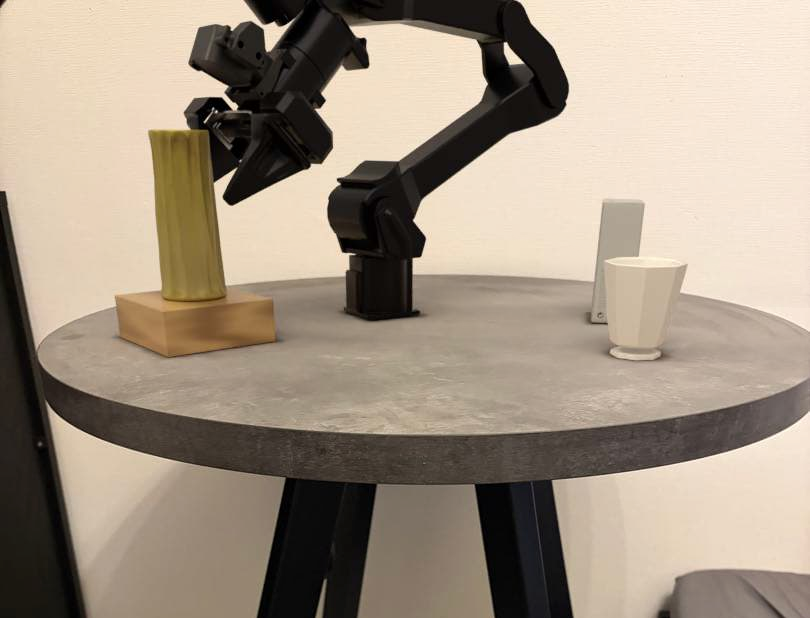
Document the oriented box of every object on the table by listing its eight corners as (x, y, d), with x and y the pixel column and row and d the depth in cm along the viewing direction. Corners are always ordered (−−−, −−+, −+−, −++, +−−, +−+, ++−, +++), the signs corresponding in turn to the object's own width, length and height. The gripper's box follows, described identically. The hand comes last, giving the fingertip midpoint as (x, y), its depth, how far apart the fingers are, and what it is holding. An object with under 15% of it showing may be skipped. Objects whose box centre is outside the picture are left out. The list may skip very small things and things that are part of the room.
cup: (594, 361, 76) (603, 265, 72) (596, 338, 84) (605, 251, 81) (677, 366, 74) (691, 268, 71) (671, 342, 83) (683, 253, 80)
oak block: (221, 323, 91) (218, 284, 89) (275, 341, 83) (273, 298, 81) (120, 337, 84) (114, 295, 83) (167, 357, 77) (162, 311, 75)
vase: (208, 289, 86) (193, 130, 80) (239, 297, 82) (226, 129, 76) (150, 295, 82) (130, 129, 76) (179, 304, 78) (161, 129, 72)
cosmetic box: (631, 325, 91) (645, 202, 85) (590, 323, 91) (601, 201, 86) (630, 314, 96) (642, 198, 91) (590, 313, 97) (601, 198, 92)
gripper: (192, 3, 82) (95, 131, 81) (296, -24, 69) (182, 130, 67) (270, 98, 90) (183, 217, 88) (377, 91, 77) (277, 231, 75)
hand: (203, 199), depth 80 cm, fingers open, 9 cm apart
